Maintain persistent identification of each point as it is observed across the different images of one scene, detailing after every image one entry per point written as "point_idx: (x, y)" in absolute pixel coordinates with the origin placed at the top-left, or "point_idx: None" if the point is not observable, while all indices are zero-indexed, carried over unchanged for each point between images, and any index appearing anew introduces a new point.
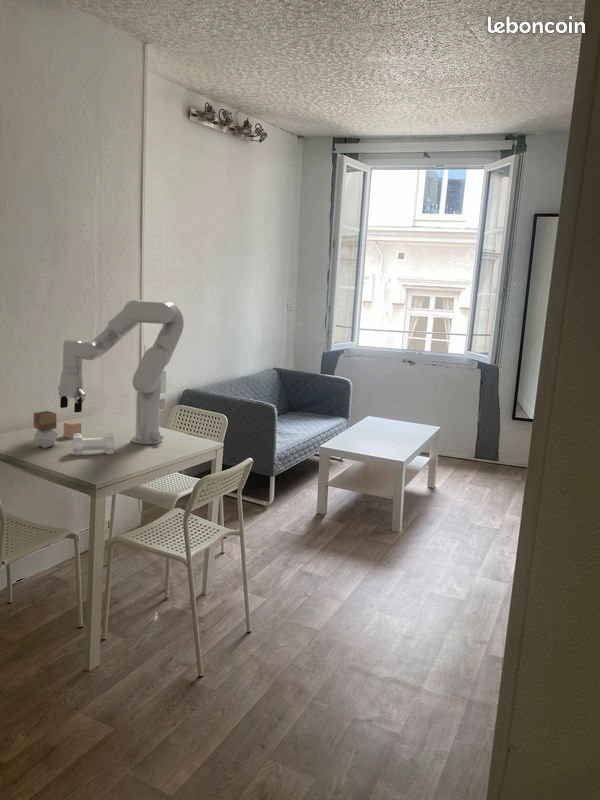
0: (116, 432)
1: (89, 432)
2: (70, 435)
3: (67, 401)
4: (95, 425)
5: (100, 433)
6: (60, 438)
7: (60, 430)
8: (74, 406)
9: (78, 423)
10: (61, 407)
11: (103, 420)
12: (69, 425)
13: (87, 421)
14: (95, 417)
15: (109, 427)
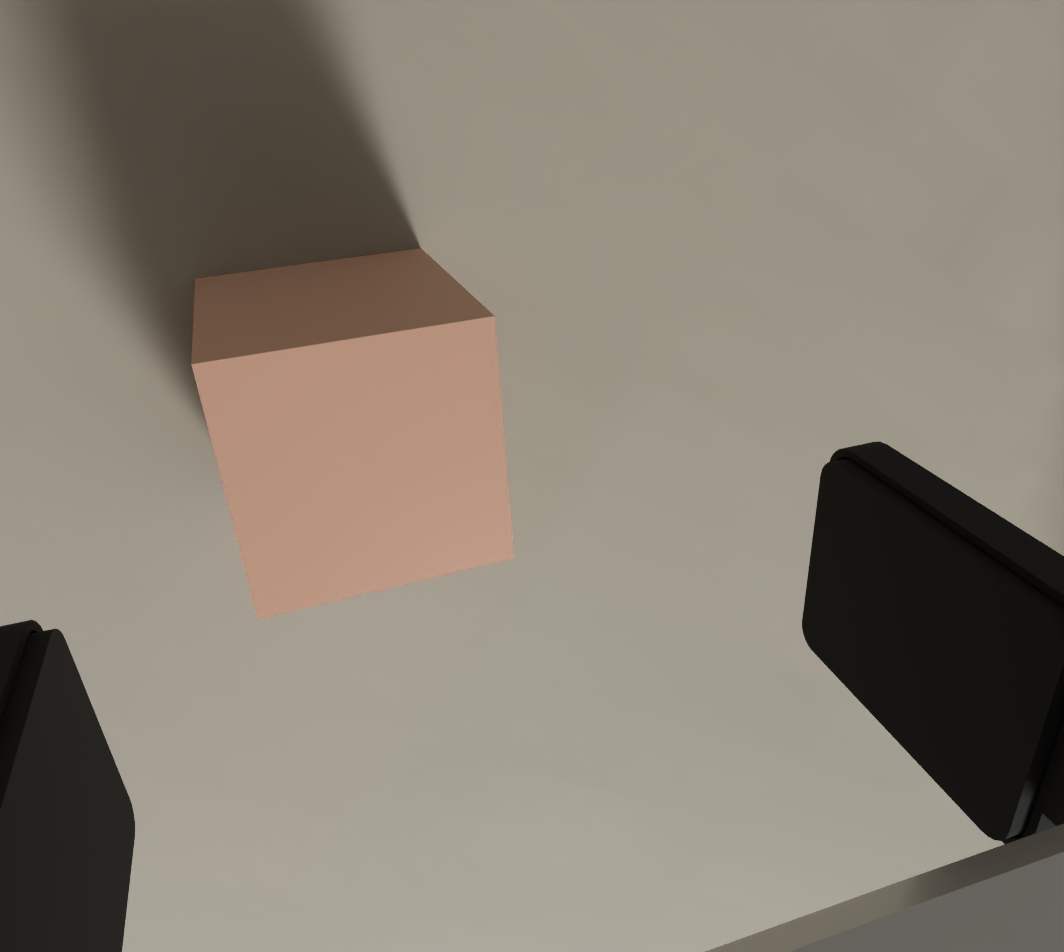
0: (249, 936)
1: (429, 663)
2: (209, 290)
3: (920, 756)
4: (691, 805)
5: (299, 768)
6: (292, 111)
7: (751, 368)
8: (2, 794)
9: (247, 559)
10: (831, 461)
11: (804, 906)
12: (254, 344)
13: (875, 775)
14: (935, 867)
15: (525, 909)
